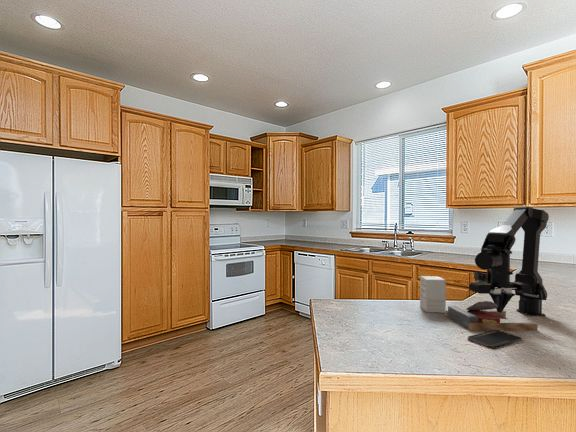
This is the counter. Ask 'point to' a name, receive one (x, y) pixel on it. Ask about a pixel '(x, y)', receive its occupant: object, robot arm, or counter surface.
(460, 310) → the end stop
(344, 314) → the counter surface
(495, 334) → the phone
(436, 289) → the supplement box
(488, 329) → the guide channel
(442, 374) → the counter surface
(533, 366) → the counter surface
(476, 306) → the canned food
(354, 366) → the counter surface
